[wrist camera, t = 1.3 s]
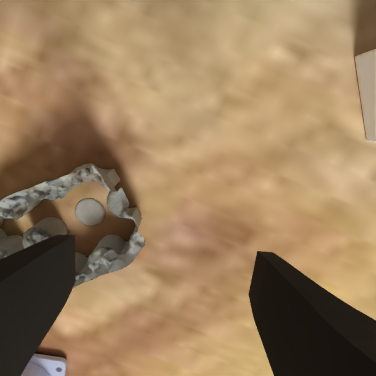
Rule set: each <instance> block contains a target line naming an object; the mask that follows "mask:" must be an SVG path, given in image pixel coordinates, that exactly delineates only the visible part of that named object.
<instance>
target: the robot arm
mask: <svg viewBox="0 0 376 376" xmlns="http://www.w3.org/2000/svg"><path fill="white" fill-rule="evenodd" d="M75 282H76V268H75V236H72V235H60V234H58V235H55V236H52V237H50V238H47V239H45V240H43V241H40V242H38V243H36V244H34V245H31V246H29V247H27V248H25V249H22V250H20V251H18V252H16V253H13V254H11V255H9V256H7V257H4V258H2V259H0V376H65V373H66V365H67V361H66V359H65V358H62V357H56V356H49V355H42V354H35V352H36V350H37V348H38V347H39V345H40V344H41V342H42V340H43V339H44V337H45V336H46V334H47V333H48V331H49V329H50V328H51V326H52V325H53V323H54V322H55V320H56V318H57V317H58V315H59V313H60V312H61V310H62V309H63V307H64V305H65V303H66V301H67V299H68V297H69V295H70V293H71V291H72V288H73V286H74V284H75ZM249 298H250V303H251V308H252V312H253V317H254V320H255V323H256V326H257V329H258V332H259V335H260V338H261V340H262V343H263V346H264V349H265V352H266V354H267V357H268V360H269V363H270V366H271V368H272V371H273V374H274V376H376V320H374V319H372V318H370V317H369V316H367V315H365V314H363V313H362V312H360V311H358V310H356V309H355V308H353V307H351V306H350V305H348V304H347V303H345V302H343V301H342V300H340V299H339V298H337V297H336V296H334V295H333V294H331V293H330V292H328V291H327V290H325V289H324V288H322V287H321V286H319V285H318V284H317V283H315V282H314V281H312V280H311V279H310V278H308V277H307V276H305V275H304V274H303V273H301V272H300V271H299V270H297V269H296V268H294V267H293V266H292V265H290V264H289V263H288V262H286V261H285V260H283V259H282V258H281V257H279V256H278V255H276V254H274V253H273V252H261V251H257V256H256V261H255V266H254V271H253V276H252V280H251V285H250V290H249Z"/></svg>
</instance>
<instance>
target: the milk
mask: <svg viewBox="0 0 376 376" xmlns="http://www.w3.org/2000/svg"><path fill="white" fill-rule="evenodd" d="M355 63H356V70H357V77H358V84H359V91H360V98H361V104H362V111H363V118H364V125H365V132H366V139H367V141H370V142H376V49H374V50H371V51H368V52H365V53H362V54H360V55H357V56H356V57H355Z"/></svg>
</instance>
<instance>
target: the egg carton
mask: <svg viewBox="0 0 376 376" xmlns="http://www.w3.org/2000/svg"><path fill="white" fill-rule="evenodd" d="M89 181H97V182H99V183H100V184H102V185H103V187H104V188H105V189H106V190H109V191H110V192H109V194H108V196H107V205H108V208H109V210H110V211H111V212H112V213H113V214H115V215H116V216H117V217H121V218H128V219H133V220H134V222H135V224H136V227H135V229H134V232H133V234H132V235H131V236H130V240H129V241H125V240H124V239H123V238H122V237H120V236H118V235H106V236H105V237H103V238H102V239H101V240H100V241H99V243H98V244H97V246H96V247H95V249H94V250H93V252H92V253H91V254H90V255H89V258H88V257H86V256H85V255H84V254H82V253H79V252H75V268H76V282H75V284H74V286H73V288H74V287H76V286H77V285H79V284H82V283H84V282H87V281H90V280H93V279H95V278H97V277H98V276H100V275H104V274H107V273H110V272H114V271H117V270H120V269H123V268H124V267H126V266H128V265H129V264H130V263H131V262H132V261H133V260H134V259H135V257H136V256H137V255H138V253H139V252H140V250H141V249H142V248H143V246H144V245H145V240H144V238H143V237H142V236H141V235H140V234H139V233H137V230H138V228H139V225H140V223H141V220H142V217H141V215H140V213H139V210H138V209H137V208H136V207H134V208H127V207H128V206H129V202H128V200H127V198H126V195H125V193H124V191H123V189H122V188H120V189H119V190H115V188H114V187H115V186H116V184H117V183H118V182H119V181H120V178H119V176H118V174H117V172H116V171H115V169H106V170H105V169H101V168H99V167H97V166H96V165H94V164H93V163H88V164H83V165H81V166H79V167H76V168H75V169H74V170H73V171H72V172H71V173H70V174H68V175H65V176H63V177H60V178H58V179H55V180H52V181H49V182H48V181H45V182H43V183H41V184H38V185H36V186H33V187H31V188H29V189H25V190H22V191H19V192H16V193H14V194H12V195H9V196H7V197H5V198H3V199H2V200H1V201H0V225H1V223H2V222H3V221H4V219H5V218H15V219H19V218H21V217H22V216H23V215H24V214H26V213H27V212H29V211H31V210H32V209H33V208H35V207H36V206H38V205H39V204H40V202H41V201H42V199H49V200H56V199H57V198H58V197H60V198H61V199H62V198H63V197H64V196H65V195H66V193H67V192H69V191H70V190H71V189H73V188H74V187H76V186H77V185H78V184H81V183H84V182H89ZM75 215H76V217H77V219H78V220H79V221H80V222H81V223H83V224H85V225H88V226H92V225H98V224H99V223H101V222H102V221H103V219H104V216H105V209H104V207H103V205H102V204H101V203H100V202H98V201H97V200H95V199H90V198H87V199H83V200H81V201H79V203H77V206H76V208H75ZM67 232H68V229H67V227H66V225H65V223H64V222H63V221H61V220H60V219H58V218H55V217H46V218H44V219H42V220H41V221H40V222H38V223H37V224H36V225H34V226H33V227H31V228H30V229H28V230H27V231H26V232H25V233H24V234H23V237H22V236H19V235H10V236H7V235H6V234H5V233H4V231H3V230H2V229H1V227H0V259H2V258H4V257H7V256H9V255H11V254H13V253H16V252H18V251H20V250H22V249H25V248H27V247H29V246H31V245H34V244H36V243H38V242H40V241H43V240H45V239H47V238H50V237H52V236H55V235H58V234H60V235H67Z"/></svg>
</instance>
